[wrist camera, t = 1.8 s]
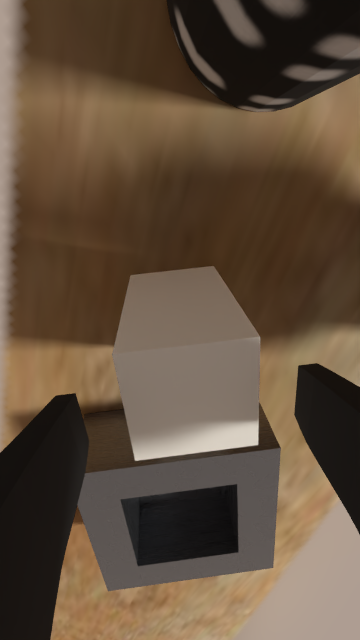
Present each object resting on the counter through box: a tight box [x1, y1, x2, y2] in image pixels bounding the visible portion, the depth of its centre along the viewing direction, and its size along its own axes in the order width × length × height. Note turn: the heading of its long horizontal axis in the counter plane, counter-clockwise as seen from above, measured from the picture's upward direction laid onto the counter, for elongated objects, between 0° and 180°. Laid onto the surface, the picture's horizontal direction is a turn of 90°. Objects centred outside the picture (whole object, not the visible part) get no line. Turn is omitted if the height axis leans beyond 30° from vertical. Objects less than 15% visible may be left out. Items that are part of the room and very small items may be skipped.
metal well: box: [77, 403, 281, 591], centre depth 20 cm, size 11×11×4 cm
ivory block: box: [112, 266, 260, 461], centre depth 14 cm, size 4×4×8 cm
